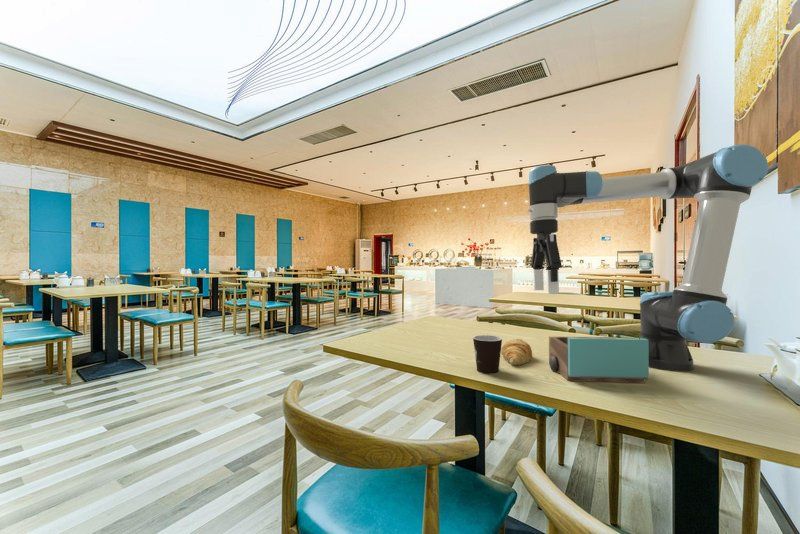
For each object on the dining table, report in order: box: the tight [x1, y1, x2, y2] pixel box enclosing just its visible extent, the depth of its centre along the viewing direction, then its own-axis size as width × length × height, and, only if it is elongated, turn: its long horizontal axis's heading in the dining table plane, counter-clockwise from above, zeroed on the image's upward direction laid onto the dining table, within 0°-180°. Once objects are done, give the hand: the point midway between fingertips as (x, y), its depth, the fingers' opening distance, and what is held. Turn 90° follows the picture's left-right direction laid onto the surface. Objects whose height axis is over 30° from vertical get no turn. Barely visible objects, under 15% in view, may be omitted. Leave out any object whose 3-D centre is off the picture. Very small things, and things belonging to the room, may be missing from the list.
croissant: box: [501, 338, 533, 366], centre depth 119 cm, size 21×10×8 cm, turn 157°
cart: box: [548, 336, 646, 384], centre depth 103 cm, size 23×16×9 cm
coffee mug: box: [472, 334, 503, 375], centre depth 107 cm, size 12×9×10 cm
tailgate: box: [568, 337, 650, 380], centre depth 94 cm, size 20×2×11 cm, turn 84°
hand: (545, 292), depth 103 cm, fingers open, 13 cm apart
